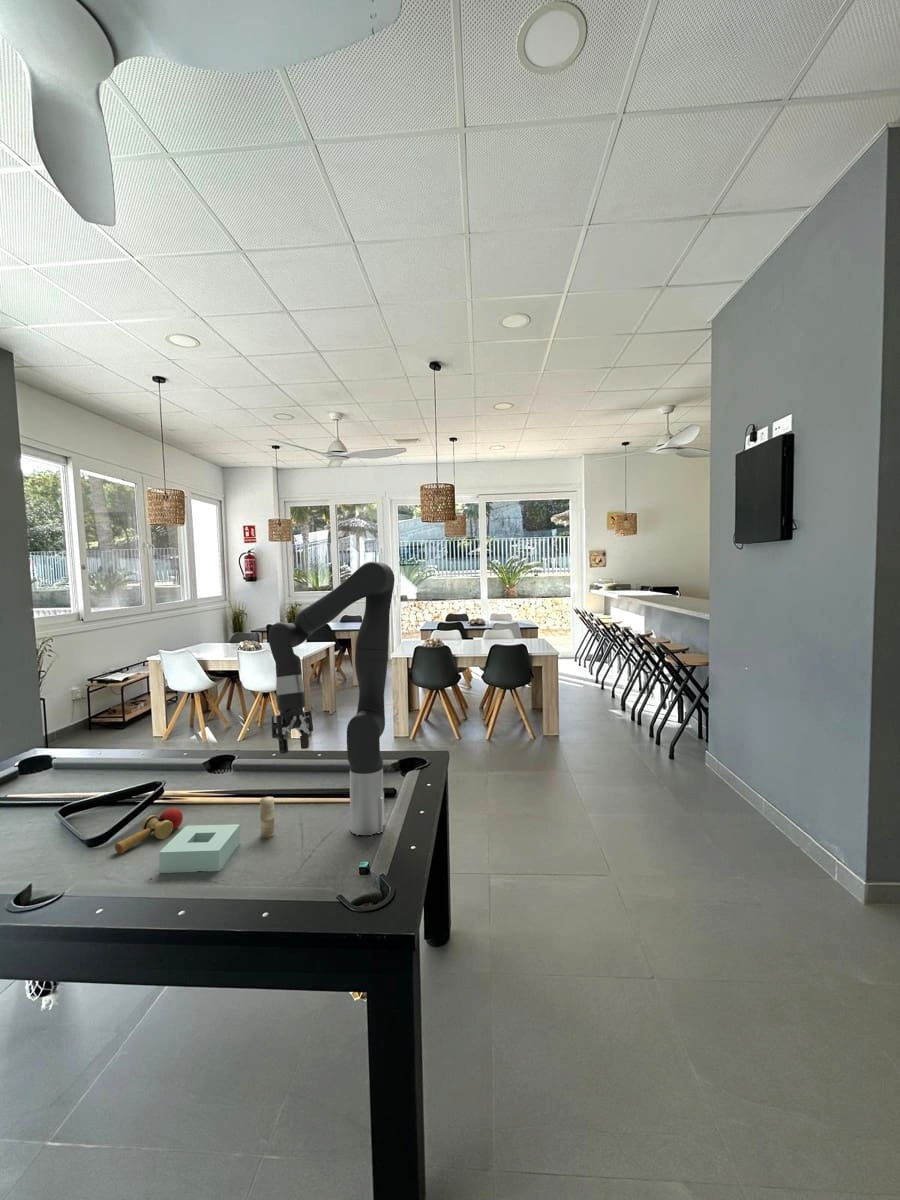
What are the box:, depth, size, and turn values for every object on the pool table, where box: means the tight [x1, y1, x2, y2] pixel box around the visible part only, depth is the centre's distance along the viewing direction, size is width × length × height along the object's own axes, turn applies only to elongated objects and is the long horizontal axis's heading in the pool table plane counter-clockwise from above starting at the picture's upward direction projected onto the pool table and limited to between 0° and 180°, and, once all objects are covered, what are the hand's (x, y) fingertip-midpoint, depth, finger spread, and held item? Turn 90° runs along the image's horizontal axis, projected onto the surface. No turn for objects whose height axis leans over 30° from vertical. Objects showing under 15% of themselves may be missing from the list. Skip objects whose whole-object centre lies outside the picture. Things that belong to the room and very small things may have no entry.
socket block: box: [158, 824, 241, 874], centre depth 131 cm, size 14×14×5 cm
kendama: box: [114, 807, 184, 855], centre depth 141 cm, size 8×6×18 cm
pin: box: [259, 796, 275, 839], centre depth 142 cm, size 4×4×10 cm
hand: (294, 750), depth 144 cm, fingers open, 8 cm apart
